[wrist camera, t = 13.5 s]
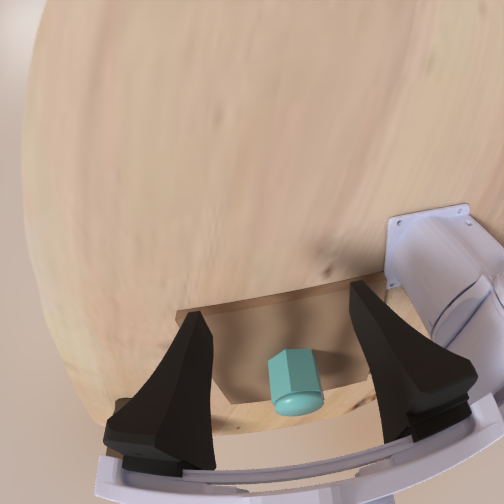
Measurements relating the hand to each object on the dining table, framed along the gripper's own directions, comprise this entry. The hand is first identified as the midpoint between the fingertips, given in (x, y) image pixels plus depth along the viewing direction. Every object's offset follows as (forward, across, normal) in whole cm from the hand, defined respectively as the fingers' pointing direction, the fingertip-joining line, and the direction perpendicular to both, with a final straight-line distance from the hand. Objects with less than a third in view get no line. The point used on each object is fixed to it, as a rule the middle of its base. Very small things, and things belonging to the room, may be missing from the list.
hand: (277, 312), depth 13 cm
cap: (+8, 0, +18) cm, 20 cm away
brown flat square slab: (+9, 0, +18) cm, 20 cm away
